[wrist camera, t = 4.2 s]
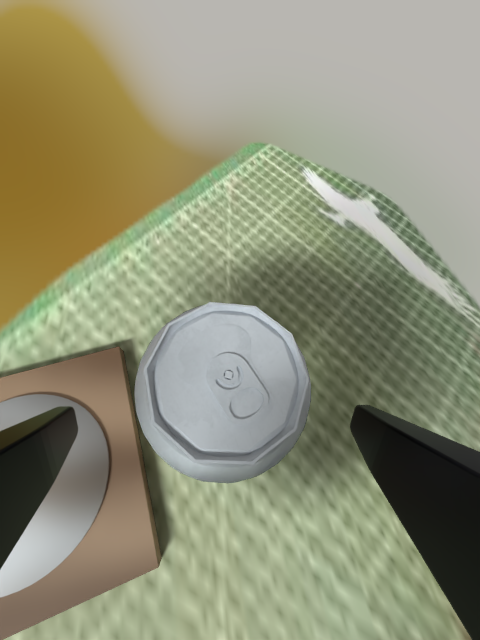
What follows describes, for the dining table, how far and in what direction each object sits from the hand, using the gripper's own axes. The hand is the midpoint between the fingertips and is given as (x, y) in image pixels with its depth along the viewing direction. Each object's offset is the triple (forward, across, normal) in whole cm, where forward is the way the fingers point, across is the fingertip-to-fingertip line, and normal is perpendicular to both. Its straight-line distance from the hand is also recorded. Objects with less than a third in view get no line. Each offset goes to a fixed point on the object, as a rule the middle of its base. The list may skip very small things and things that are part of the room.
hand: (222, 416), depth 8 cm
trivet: (+4, -10, -8) cm, 14 cm away
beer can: (+7, 0, -6) cm, 10 cm away
